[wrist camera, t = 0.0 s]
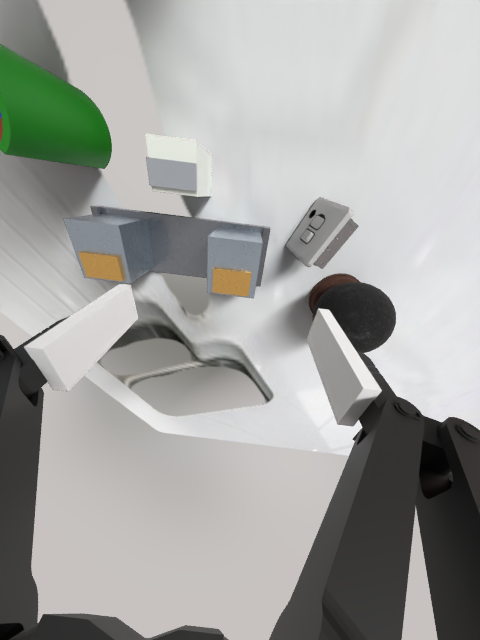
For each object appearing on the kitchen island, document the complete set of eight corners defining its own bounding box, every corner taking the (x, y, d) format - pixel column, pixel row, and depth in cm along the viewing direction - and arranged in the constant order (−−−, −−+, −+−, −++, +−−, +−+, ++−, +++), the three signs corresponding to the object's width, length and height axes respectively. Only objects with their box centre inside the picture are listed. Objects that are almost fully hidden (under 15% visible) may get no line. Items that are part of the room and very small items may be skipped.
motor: (45, 144, 31) (-194, 86, 15) (40, 66, 27) (-318, -148, 10) (109, 177, 33) (-37, 159, 16) (114, 110, 29) (-82, -10, 12)
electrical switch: (318, 195, 33) (342, 200, 25) (339, 212, 34) (368, 221, 27) (284, 245, 38) (296, 261, 30) (304, 258, 39) (321, 276, 32)
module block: (175, 150, 31) (142, 132, 22) (212, 154, 31) (195, 138, 22) (177, 192, 34) (150, 191, 25) (211, 196, 34) (196, 196, 25)
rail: (98, 205, 36) (46, 209, 27) (269, 227, 36) (274, 237, 27) (113, 264, 42) (74, 283, 33) (260, 282, 42) (261, 306, 33)
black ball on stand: (293, 292, 43) (309, 332, 30) (352, 255, 38) (402, 285, 25) (320, 331, 48) (343, 379, 35) (375, 303, 43) (426, 347, 30)
